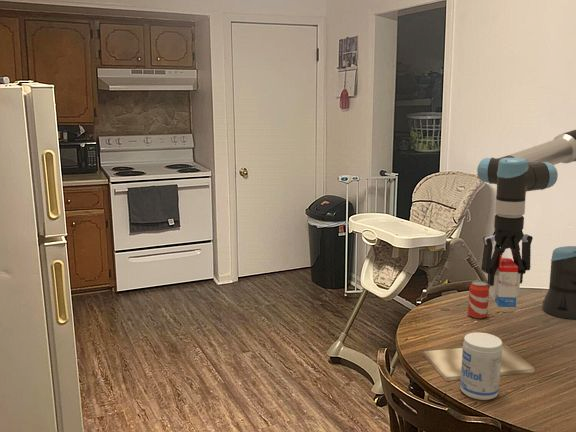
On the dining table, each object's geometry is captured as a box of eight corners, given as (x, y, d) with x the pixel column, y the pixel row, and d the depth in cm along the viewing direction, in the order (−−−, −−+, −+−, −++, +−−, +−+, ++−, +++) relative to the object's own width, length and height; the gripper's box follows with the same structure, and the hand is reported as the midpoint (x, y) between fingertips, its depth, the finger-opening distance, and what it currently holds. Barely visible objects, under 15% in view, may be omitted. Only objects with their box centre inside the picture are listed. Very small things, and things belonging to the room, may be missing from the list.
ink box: (516, 307, 159) (519, 256, 156) (497, 307, 160) (500, 256, 157) (509, 297, 167) (512, 248, 164) (491, 296, 168) (494, 247, 165)
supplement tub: (453, 393, 150) (456, 340, 147) (468, 379, 157) (471, 328, 154) (490, 405, 144) (494, 350, 141) (504, 390, 151) (508, 338, 148)
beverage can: (480, 321, 196) (482, 287, 194) (464, 315, 201) (466, 282, 199) (490, 316, 200) (492, 283, 198) (474, 311, 205) (476, 278, 202)
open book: (504, 347, 176) (505, 340, 175) (534, 372, 161) (535, 364, 160) (423, 355, 172) (423, 347, 171) (446, 381, 156) (446, 372, 156)
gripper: (533, 210, 163) (527, 288, 168) (470, 213, 160) (466, 293, 165) (549, 216, 156) (542, 297, 161) (483, 219, 153) (478, 302, 158)
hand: (504, 295), depth 163 cm, fingers closed on ink box, 6 cm apart
